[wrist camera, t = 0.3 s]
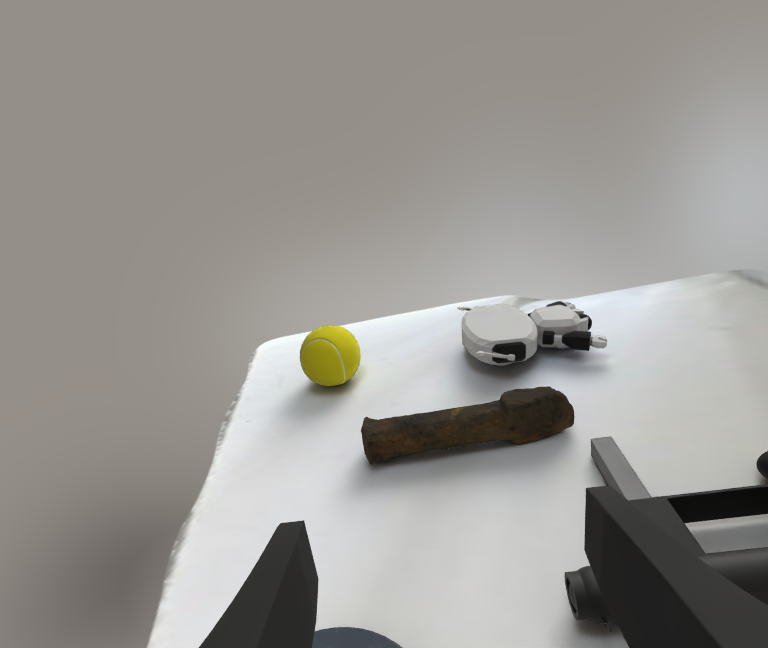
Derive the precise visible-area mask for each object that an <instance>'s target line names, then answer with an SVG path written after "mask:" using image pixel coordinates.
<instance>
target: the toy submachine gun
mask: <svg viewBox="0 0 768 648" xmlns="http://www.w3.org/2000/svg"><path fill="white" fill-rule="evenodd" d="M591 456H592V457H593V459H594V461H595V463H596V464H597V466H598V468H599V470H600V471H601V473H602V475H603V477H604V478H605V480H606V482H607V484H608V486H610V485H611V486H612V487H613V488H614V489H616V490H617V491H618V492H619V493H620V494H622V495H623V496H624V497H625V498H626V499H627V500H628V501H630V502H631V503H632V504H633V505H634V506H635V507H637V508H638V509H639V510H640V511H641V512H642V513H644V514H645V515H646V516H647V517H648V518H650V519H651V520H652V521H653V522H654V523H655V524H657V525H658V526H659V527H660V528H662V529H663V530H664V531H665V532H666V533H668V534H669V535H670V536H671V537H673V538H674V539H675V540H676V541H678V542H679V543H680V544H681V545H683V546H684V547H685V548H686V549H688V550H689V551H690V552H691V553H693V554H694V555H695V556H697V557H698V558H699V559H701V560H702V561H703V562H705V563H706V564H707V565H709V566H710V567H711V568H713V569H714V570H716V571H717V572H718V573H720V574H721V575H722V576H724V577H725V578H727V579H728V580H729V581H731V582H732V583H734V584H735V585H737V586H738V587H740V588H741V589H743V590H744V591H746V592H747V593H749V594H750V595H752V596H753V597H755V598H757V599H758V600H760V601H761V602H763V603H764V604H766V605H767V606H768V547H765V548H755V549H746V550H736V551H727V552H717V553H708V554H705V552H704V551H703V549H702V548H701V547H700V545H699V544H698V542H697V541H696V539H695V538H694V537H693V535H692V534H691V532H690V531H689V530H688V528H687V527H686V525H685V524H684V523H690V522H698V521H707V520H716V519H725V518H734V517H743V516H752V515H761V514H768V484H765V485H757V486H748V487H740V488H731V489H723V490H714V491H705V492H697V493H688V494H680V495H671V496H661V497H653V498H652V497H651V496H650V494H649V493H648V491H647V490H646V488H645V487H644V485H643V484H642V482H641V481H640V479H639V478H638V476H637V475H636V473H635V472H634V470H633V469H632V467H631V466H630V464H629V463H628V461H627V460H626V458H625V457H624V455H623V454H622V452H621V451H620V449H619V448H618V446H617V445H616V443H615V441H614V440H613V438H612V437H603V438H595V439H591ZM757 469H758V471H759V472H760V473H761V474H762V475H763V476H764V477H765V478H766V479H767V480H768V451H767V452H765V453H763V454H762V455H761V456H760V457H759V458H758V460H757ZM565 584H566V590H567V594H568V599H569V602H570V606H571V609H572V612H573V614H574V617H575V618H576V620H584V619H587V620H589V621H592V622H595V623H604V624H605V623H606V624H605V626H606V625H607V627H608V629H609V632H612V631H611V629H610V626H609V624H608V623H610V622H616V621H615V619H614V617H613V615H612V613H611V611H610V609H609V607H608V605H607V603H606V601H605V599H604V597H603V595H602V593H601V591H600V589H599V586H598V584H597V581H596V579H595V576H594V574H593V571H592V568H591V566H586V567H583V568H581V569H579V570H578V571H573V572H565ZM607 627H606V628H607Z"/></svg>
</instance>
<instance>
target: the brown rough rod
mask: <svg viewBox="0 0 768 648" xmlns="http://www.w3.org/2000/svg"><path fill="white" fill-rule="evenodd" d="M573 424H574V410H573V407H572V405H571V404H570V403H569V401H568V399H567V397H566V396H565V395H564V394H563V393H561V392H560V391H556V390H555V389H552V388H551V387H537V388H534V389H514V390H511V391H507V392H504V393H503V394H502V395H501V398H500V400H498V401H493V402H490V403H484V404H478V405H472V406H465V407H458V408H452V409H446V410H439V411H434V412H428V413H418V414H413V415H405V416H401V417H392V418H385V419H380V420H375V419H370V418H368V417H365V418H364V421H363V426H362V429H361V433H362V439H363V445H364V451H365V454H366V457H367V459H368V461H369V462H370V464H371V465H372V464H374V462H376V461H377V460H379V459H382V460H384V461H387V462H389V461H390V460H391V459H392V457H395V456H400V455H407V454H413V453H419V452H424V451H431V450H437V449H445V450H446V449H448V448H451V447H457V446H465V445H469V444H476V443H482V442H488V441H495V440H504V439H507V440H509V441H510V442H512V443H513V444H522V443H527V442H531V441H535V440H537V439H540V438H543V437H546V436H549V435H552V434H554V433H557V432H560V431H562V430H564V429H566V428H569V427H571V426H572V425H573Z"/></svg>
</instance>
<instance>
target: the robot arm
mask: <svg viewBox="0 0 768 648" xmlns="http://www.w3.org/2000/svg"><path fill="white" fill-rule="evenodd" d="M584 550H585V552H586V555H587V558H588V560H589V563H590V566H591V568H592V571H593V574H594V576H595V579H596V581H597V584H598V586H599V589H600V591H601V593H602V595H603V597H604V599H605V601H606V603H607V605H608V607H609V609H610V611H611V613H612V615H613V617H614V619H615V621H616V623H617V625H618V627H619V628H620V630H621V632H622V634H623V636H624V638H625V640H626V642H627V644H628V646H629V648H768V606H767V605H766V604H764V603H763V602H761V601H760V600H758V599H757V598H755V597H753V596H752V595H750V594H749V593H747V592H746V591H744V590H743V589H741V588H740V587H738V586H737V585H735V584H734V583H732V582H731V581H729V580H728V579H727V578H725V577H724V576H722V575H721V574H720V573H718V572H717V571H716V570H714V569H713V568H711V567H710V566H709V565H707V564H706V563H705V562H703V561H702V560H701V559H699V558H698V557H697V556H695V555H694V554H693V553H691V552H690V551H689V550H688V549H686V548H685V547H684V546H683V545H681V544H680V543H679V542H678V541H676V540H675V539H674V538H673V537H671V536H670V535H669V534H668V533H666V532H665V531H664V530H663V529H662V528H660V527H659V526H658V525H657V524H655V523H654V522H653V521H652V520H651V519H650V518H648V517H647V516H646V515H645V514H644V513H642V512H641V511H640V510H639V509H638V508H637V507H635V506H634V505H633V504H632V503H631V502H630V501H628V500H627V499H626V498H625V497H624V496H623V495H622V494H620V493H619V492H618V491H617V490H616V489H614V488H613V487H612V486H611V485H610V486H601V487H592V488H586V511H585V548H584ZM317 596H318V576H317V572H316V568H315V563H314V559H313V555H312V551H311V547H310V543H309V539H308V535H307V531H306V527H305V523H304V521H296V522H288V523H281V524H280V525H279V526H278V527H277V529H276V530H275V532H274V534H273V536H272V537H271V539H270V541H269V543H268V545H267V546H266V548H265V550H264V551H263V553H262V555H261V557H260V558H259V560H258V562H257V563H256V565H255V567H254V568H253V570H252V571H251V573H250V575H249V576H248V578H247V579H246V581H245V582H244V584H243V586H242V587H241V589H240V590H239V592H238V593H237V595H236V597H235V598H234V600H233V601H232V603H231V604H230V605H229V607H228V608H227V610H226V611H225V613H224V614H223V615H222V617H221V618H220V620H219V621H218V622H217V624H216V625H215V627H214V628H213V630H212V631H211V632H210V634H209V635H208V636H207V638H206V639H205V640H204V642H203V643H202V644H201V646H200V647H199V648H312V644H313V638H314V631H315V625H316V614H317Z"/></svg>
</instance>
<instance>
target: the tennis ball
mask: <svg viewBox="0 0 768 648" xmlns="http://www.w3.org/2000/svg"><path fill="white" fill-rule="evenodd" d="M300 362H301V366H302V369H303V371H304V373H305V374H306V375H307V377H308V378H309V379H311V380H312V381H313V382H315V383H317V384H320V385H324V386H336V385H340V384H343V383H345V382H346V381H348V380H349V379H351V378H352V377H353V375H354V374H355V373H356V371H357V369H358V366H359V363H360V349H359V345H358V342H357V340H356V339H355V337H354V336H353V335H352V334H351V333H350V332H349V331H348V330H346V329H345V328H342V327H338V326H331V325H329V326H322V327H320V328H317V329H316V330H314V331H312V332H311V333H310V334H309V335H308V336H307V337H306V338H305V340H304V342H303V344H302V346H301V350H300Z"/></svg>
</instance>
